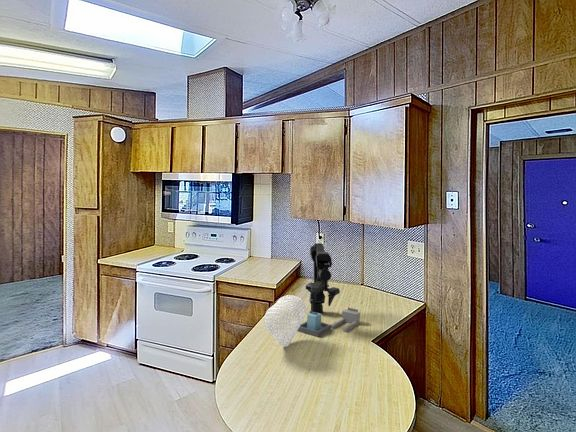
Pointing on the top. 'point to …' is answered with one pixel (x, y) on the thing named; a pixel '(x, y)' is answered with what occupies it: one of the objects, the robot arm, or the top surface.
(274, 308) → the heart
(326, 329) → the tray
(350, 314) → the dock
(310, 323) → the light blue block
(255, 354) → the top surface
